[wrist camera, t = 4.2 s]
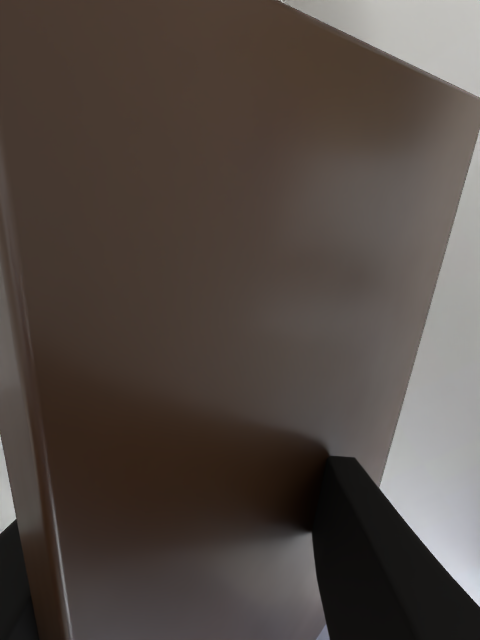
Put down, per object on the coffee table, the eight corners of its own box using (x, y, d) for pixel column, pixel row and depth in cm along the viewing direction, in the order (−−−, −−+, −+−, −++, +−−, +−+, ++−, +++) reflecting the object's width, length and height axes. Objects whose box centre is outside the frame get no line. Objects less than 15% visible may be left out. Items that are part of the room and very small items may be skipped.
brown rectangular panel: (88, 906, 9) (111, 953, 8) (-112, -121, 2) (-58, -173, 2) (332, 570, 16) (352, 584, 15) (450, 99, 9) (489, 99, 9)
